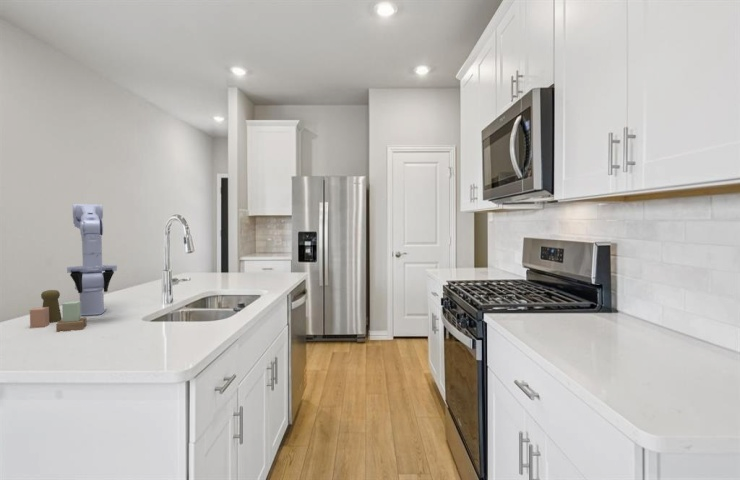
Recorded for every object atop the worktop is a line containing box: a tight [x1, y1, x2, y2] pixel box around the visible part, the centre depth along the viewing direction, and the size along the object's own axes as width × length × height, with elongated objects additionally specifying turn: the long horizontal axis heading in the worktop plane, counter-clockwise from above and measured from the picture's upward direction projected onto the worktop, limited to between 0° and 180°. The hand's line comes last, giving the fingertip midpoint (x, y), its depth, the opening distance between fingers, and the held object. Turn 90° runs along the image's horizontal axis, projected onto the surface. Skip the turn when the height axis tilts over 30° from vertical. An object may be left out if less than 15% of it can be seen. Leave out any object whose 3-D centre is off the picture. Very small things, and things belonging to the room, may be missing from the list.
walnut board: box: [55, 317, 87, 333], centre depth 136 cm, size 7×7×3 cm
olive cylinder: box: [40, 289, 63, 324], centre depth 145 cm, size 6×6×11 cm
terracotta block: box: [29, 306, 50, 329], centre depth 138 cm, size 4×4×6 cm
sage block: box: [61, 300, 82, 322], centre depth 135 cm, size 4×4×6 cm
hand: (93, 292), depth 145 cm, fingers open, 7 cm apart
